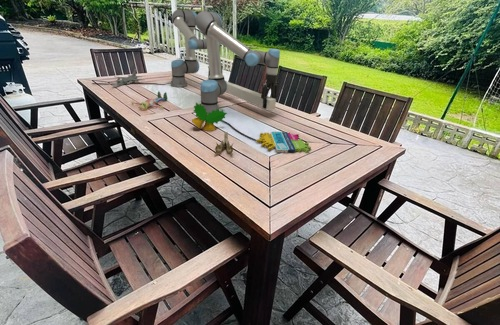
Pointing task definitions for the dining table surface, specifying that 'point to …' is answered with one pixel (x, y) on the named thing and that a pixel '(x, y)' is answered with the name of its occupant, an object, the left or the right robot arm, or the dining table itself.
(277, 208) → the dining table surface
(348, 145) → the dining table surface
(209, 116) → the ornament
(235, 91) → the post
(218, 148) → the jawbone
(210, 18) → the right robot arm
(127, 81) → the airplane
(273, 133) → the sign
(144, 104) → the toy
